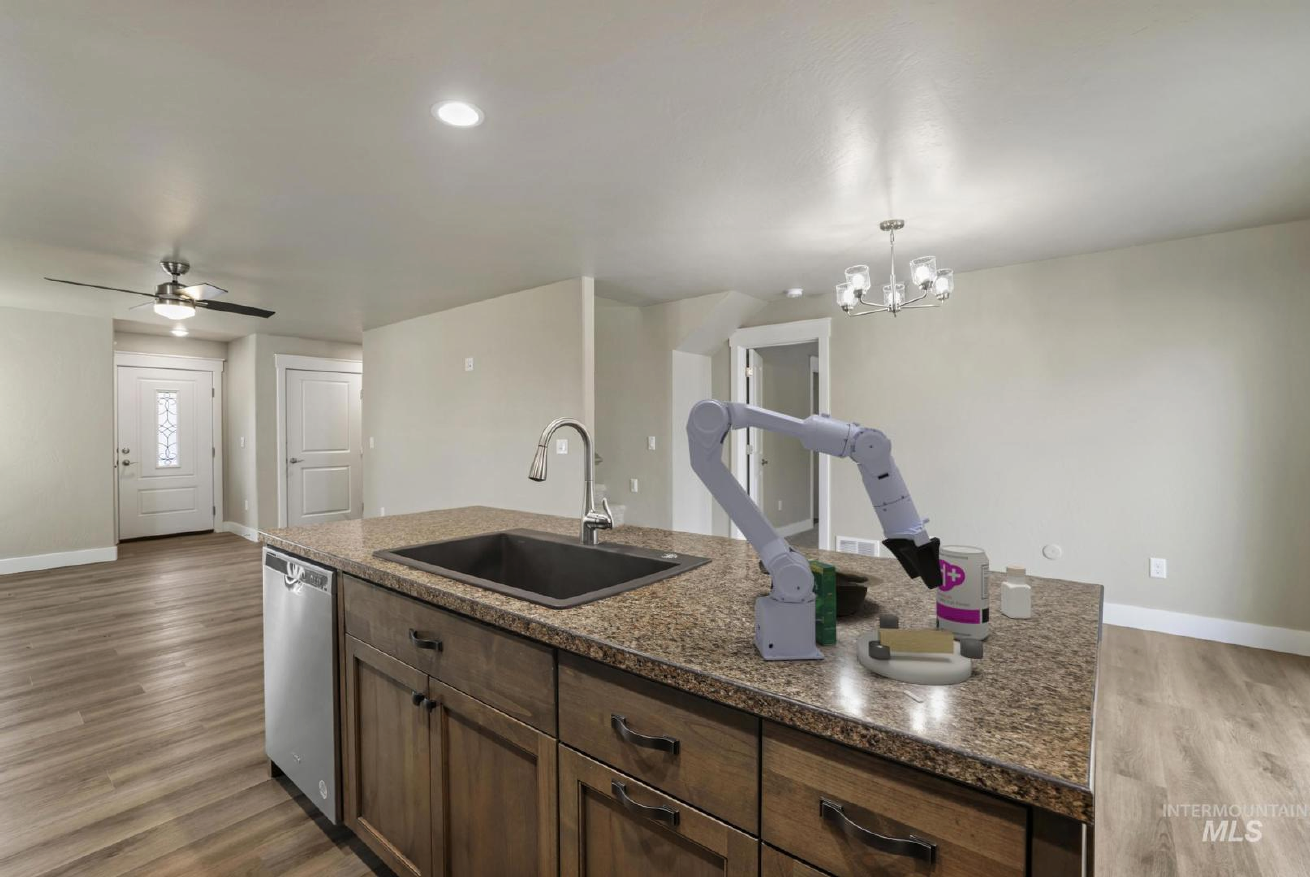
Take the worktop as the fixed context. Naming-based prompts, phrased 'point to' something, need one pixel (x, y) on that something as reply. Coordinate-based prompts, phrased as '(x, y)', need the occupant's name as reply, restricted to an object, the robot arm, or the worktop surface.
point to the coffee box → (824, 602)
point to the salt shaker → (1016, 593)
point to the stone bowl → (846, 589)
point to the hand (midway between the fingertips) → (926, 581)
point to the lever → (910, 642)
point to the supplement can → (963, 592)
